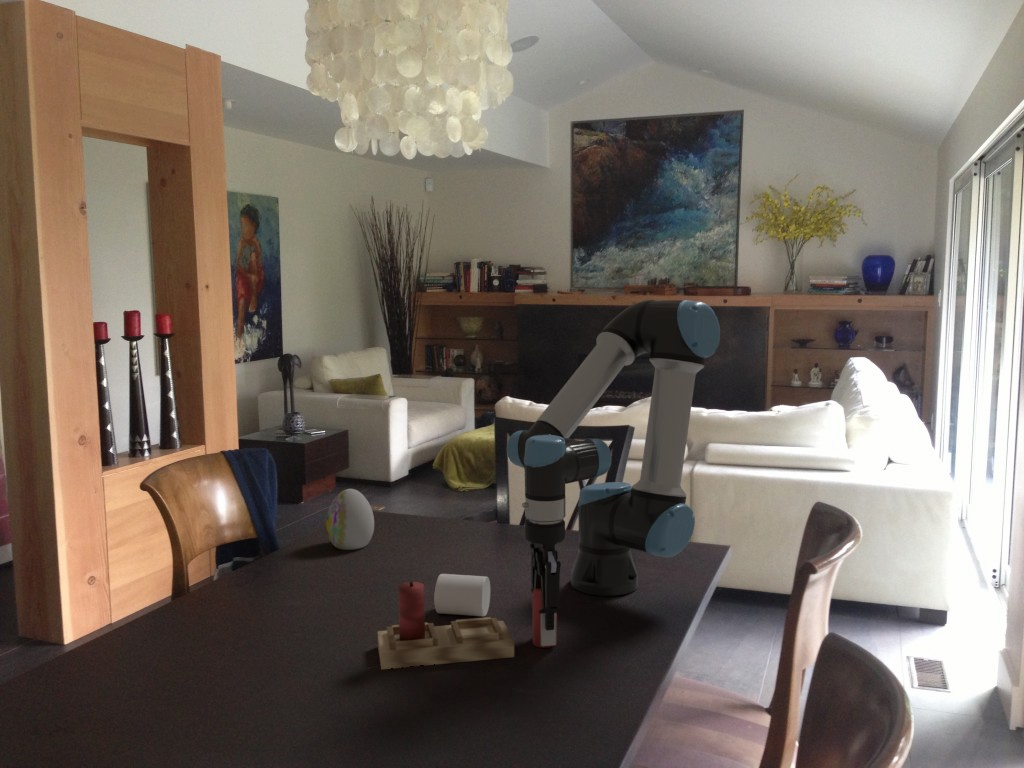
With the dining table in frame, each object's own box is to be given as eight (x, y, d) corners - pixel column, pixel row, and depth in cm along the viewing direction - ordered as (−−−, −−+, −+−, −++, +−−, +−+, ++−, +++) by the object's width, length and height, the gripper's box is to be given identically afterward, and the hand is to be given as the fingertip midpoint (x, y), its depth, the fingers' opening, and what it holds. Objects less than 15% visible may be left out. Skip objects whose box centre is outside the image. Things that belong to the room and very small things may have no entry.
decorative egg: (326, 540, 231) (324, 485, 229) (372, 537, 234) (371, 482, 232) (327, 554, 219) (326, 496, 217) (376, 550, 222) (375, 493, 220)
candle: (553, 636, 167) (553, 582, 166) (559, 646, 163) (559, 590, 161) (530, 638, 166) (530, 584, 165) (535, 648, 162) (535, 592, 161)
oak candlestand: (503, 635, 168) (502, 566, 166) (514, 657, 158) (514, 583, 157) (377, 646, 163) (376, 575, 161) (381, 669, 153) (379, 593, 152)
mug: (481, 622, 175) (481, 584, 174) (434, 619, 177) (433, 581, 176) (495, 601, 186) (494, 565, 185) (450, 598, 188) (449, 562, 187)
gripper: (515, 508, 170) (515, 623, 172) (536, 533, 152) (536, 660, 155) (552, 506, 171) (552, 620, 174) (577, 530, 154) (576, 656, 157)
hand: (544, 639), depth 164 cm, fingers closed on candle, 4 cm apart
